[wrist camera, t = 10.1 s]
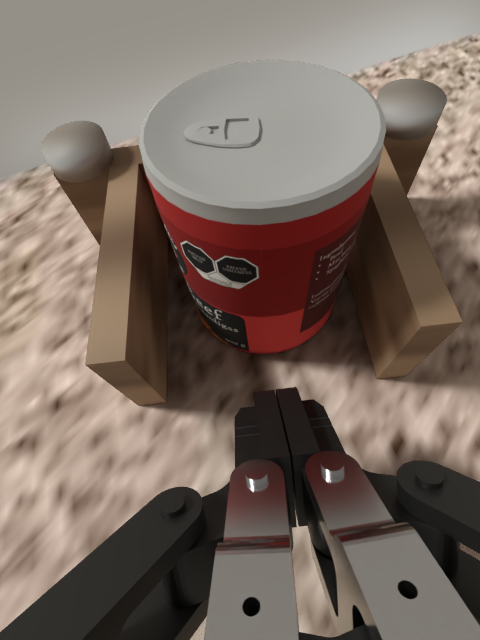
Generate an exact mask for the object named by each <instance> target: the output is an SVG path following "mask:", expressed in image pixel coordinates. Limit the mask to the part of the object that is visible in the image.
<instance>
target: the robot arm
mask: <svg viewBox="0 0 480 640" xmlns="http://www.w3.org/2000/svg"><path fill="white" fill-rule="evenodd" d="M254 397H255V405H256V406H255V407H246V408H240V410H239V411H238V413H237V414H236V416H235V469H234V471H233V472H232V474H231V477H230V482H229V483H228V484H227V485H226V486H225V487H223V488H222V489H220V490H219V491H217V492H214V493H212V494H209V495H207V496H204V497H202V498H201V496H200V494H199V493H198V492H197V491H195V490H194V489H191V488H188V487H175V488H171V489H168V490H166V491H164V492H162V493H160V494H158V495H157V496H156V497H155V498H153V499H152V500H151V501H150V502H149V503H148V504H147V505H145V506H144V507H143V508H142V509H141V510H140V511H139V512H137V513H136V514H135V515H134V516H133V517H132V518H131V519H129V520H128V521H127V522H126V523H125V524H124V525H123V526H121V527H120V528H119V529H118V530H117V531H116V532H115V533H113V534H112V535H111V536H110V537H109V538H108V539H106V540H105V541H104V542H103V543H102V544H101V545H100V546H98V547H97V548H96V549H95V550H94V551H93V552H92V553H90V554H89V555H88V556H87V557H86V558H85V559H84V560H82V561H81V562H80V563H79V564H78V565H77V566H76V567H74V568H73V569H72V570H71V571H70V572H69V573H68V574H66V575H65V576H64V577H63V578H62V579H61V580H60V581H58V582H57V583H56V584H55V585H54V586H53V587H52V588H50V589H49V590H48V591H47V592H46V593H45V594H44V595H42V596H41V597H40V598H39V599H38V600H37V601H36V602H34V603H33V604H32V605H31V606H30V607H29V608H28V609H26V610H25V611H24V612H23V613H22V614H21V615H19V616H18V617H17V618H16V619H15V620H14V621H13V622H11V623H10V624H9V625H8V626H7V627H6V628H5V629H3V630H2V631H1V632H0V640H190V638H191V637H192V636H193V634H194V633H195V631H196V630H197V629H198V627H199V626H200V624H201V623H202V622H203V620H204V619H205V618H206V616H207V620H206V628H205V635H204V640H480V561H479V560H477V559H476V558H474V557H472V556H470V555H469V554H467V553H465V552H464V551H462V550H460V549H459V547H460V543H462V544H464V545H466V546H467V547H469V548H471V549H473V550H474V551H476V552H478V553H480V482H478V481H476V480H473V479H471V478H469V477H467V476H464V475H462V474H460V473H458V472H455V471H453V470H451V469H448V468H446V467H444V466H442V465H439V464H436V463H433V462H428V461H411V462H408V463H405V464H403V465H402V466H401V467H400V468H399V469H398V472H397V476H391V475H383V474H376V473H372V472H368V471H365V470H363V469H361V467H360V465H359V464H358V462H357V461H356V460H355V459H354V458H352V457H351V456H349V455H347V454H346V453H345V451H344V449H343V447H342V445H341V443H340V441H339V438H338V436H337V434H336V432H335V430H334V428H333V426H332V424H331V421H330V419H329V418H328V415H327V413H326V411H325V409H324V407H323V406H322V405H320V404H319V403H318V402H316V401H315V400H305V401H301V398H300V395H299V393H298V390H297V388H296V387H293V388H285V389H276V395H275V391H274V390H269V391H260V392H254ZM295 510H296V515H297V520H298V524H299V526H308V529H309V533H310V538H311V551H312V556H313V559H314V562H315V565H316V568H317V571H318V574H319V578H320V581H321V584H322V587H323V590H324V593H325V597H326V600H327V603H328V606H329V609H330V612H331V615H332V619H333V622H334V625H335V628H336V632H337V637H332V638H328V637H322V636H317V635H312V634H306V633H301V632H299V624H298V613H297V603H296V592H295V581H294V571H293V560H292V549H293V535H292V527H297V526H296V515H295Z"/></svg>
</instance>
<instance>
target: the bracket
mask: <svg viewBox="0 0 480 640" xmlns="http://www.w3.org/2000/svg"><path fill="white" fill-rule="evenodd" d="M377 101H378V103H379V105H380V107H381V109H382V111H383V114H384V116H385V125H386V133H385V138H384V142H383V150H382V154H381V159H380V163H379V166H378V169H377V172H376V175H375V179H374V182H373V186H372V190H371V193H370V196H369V199H368V202H367V205H366V208H365V211H364V214H363V217H362V221H361V224H360V227H359V230H358V233H357V236H356V239H355V242H354V245H353V248H352V251H351V254H350V257H349V260H348V263H347V266H346V269H345V270H346V273H347V277H348V280H349V283H350V287H351V290H352V294H353V297H354V301H355V304H356V308H357V311H358V315H359V318H360V322H361V325H362V329H363V332H364V336H365V339H366V342H367V346H368V349H369V353H370V356H371V360H372V363H373V367H374V370H375V374H376V377H377V379H381V378H390V377H399V376H406V375H407V374H408V373H410V372H411V371H412V370H413V369H414V368H415V367H416V366H417V365H418V364H419V363H420V362H421V361H422V360H423V359H424V358H425V357H426V356H427V355H428V354H429V353H430V352H432V351H433V350H434V349H435V348H436V347H437V346H438V345H439V344H440V343H441V342H442V341H443V340H444V339H445V338H446V337H447V336H448V335H449V334H450V333H451V332H453V331H454V330H455V329H456V328H457V327H458V326H459V325H460V324H461V323H462V322H463V321H462V319H461V317H460V315H459V312H458V310H457V308H456V306H455V303H454V301H453V299H452V297H451V294H450V292H449V290H448V288H447V285H446V283H445V281H444V279H443V276H442V274H441V272H440V270H439V268H438V265H437V263H436V261H435V259H434V256H433V254H432V252H431V250H430V247H429V245H428V243H427V241H426V238H425V236H424V234H423V232H422V229H421V227H420V225H419V223H418V220H417V218H416V216H415V214H414V211H413V209H412V207H411V205H410V202H409V200H408V198H407V194H408V192H409V189H410V187H411V185H412V183H413V180H414V178H415V176H416V174H417V171H418V169H419V167H420V165H421V162H422V160H423V158H424V156H425V153H426V151H427V149H428V147H429V144H430V142H431V140H432V138H433V135H434V133H435V131H436V129H437V123H438V121H439V118H440V116H441V114H442V111H443V109H444V107H445V105H446V101H447V98H446V95H445V93H444V91H443V90H442V89H441V88H439V87H438V86H436V85H435V84H433V83H430V82H428V81H424V80H419V79H400V80H395V81H392V82H390V83H387V84H386V85H384V86H383V87H382V88H381V89H380V91H379V93H378V97H377ZM41 153H42V155H43V156H44V158H45V159H46V161H47V162H48V164H49V165H50V167H51V169H52V170H53V172H54V176H55V177H56V179H57V180H58V182H59V184H60V185H61V187H62V188H63V190H64V191H65V193H66V194H67V196H68V197H69V199H70V200H71V202H72V204H73V205H74V207H75V208H76V210H77V211H78V213H79V214H80V216H81V217H82V219H83V220H84V222H85V224H86V225H87V227H88V228H89V230H90V231H91V233H92V234H93V236H94V237H95V239H96V240H97V242H98V244H99V245H100V251H99V259H98V267H97V275H96V283H95V291H94V299H93V307H92V315H91V323H90V331H89V339H88V347H87V355H86V363H85V365H86V366H87V367H89V368H90V369H91V370H93V371H94V372H95V373H97V374H98V375H99V376H100V377H102V378H103V379H104V380H106V381H107V382H108V383H110V384H111V385H112V386H113V387H115V388H116V389H117V390H119V391H120V392H121V393H123V394H124V395H125V396H126V397H128V398H129V399H130V400H132V401H133V402H134V403H136V404H137V405H147V404H156V403H165V402H166V394H167V271H168V240H170V239H169V236H168V234H167V231H166V228H165V226H164V223H163V221H162V218H161V215H160V213H159V210H158V207H157V205H156V202H155V199H154V195H153V192H152V190H151V187H150V184H149V182H148V179H147V176H146V173H145V169H144V165H143V161H142V156H141V152H140V148H139V145H137V146H130V147H122V148H114V149H111V148H110V145H109V143H108V141H107V139H106V136H105V134H104V132H103V130H102V128H101V127H100V126H99V125H97V124H96V123H93V122H89V121H75V122H70V123H67V124H64V125H61V126H59V127H57V128H56V129H54V130H53V131H51V132H50V133H49V134H48V135H47V136H46V137H45V138H44V140H43V141H42V144H41Z"/></svg>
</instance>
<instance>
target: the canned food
mask: <svg viewBox="0 0 480 640" xmlns="http://www.w3.org/2000/svg"><path fill="white" fill-rule="evenodd" d="M385 133H386V125H385V116H384V114H383V111H382V109H381V107H380V105H379V103H378V101H377V100H376V99H375V98H374V97H373V95H372V94H371V93H370V92H369V91H368V90H367V89H366V88H365V87H363V86H362V85H360V84H359V83H358V82H356V81H355V80H354V79H352V78H350V77H348V76H346V75H344V74H342V73H340V72H337V71H334V70H331V69H328V68H325V67H322V66H319V65H314V64H309V63H304V62H297V61H285V60H257V61H249V62H242V63H235V64H231V65H227V66H222V67H218V68H215V69H212V70H210V71H207V72H204V73H201V74H198V75H196V76H194V77H192V78H190V79H188V80H186V81H184V82H182V83H180V84H179V85H177V86H176V87H174V88H173V89H171V90H170V91H168V92H167V93H166V94H165V95H164V96H162V97H161V98H160V99H159V100H158V101H157V102H156V103H155V104H154V105H153V107H152V108H151V109H150V111H149V112H148V114H147V115H146V117H145V119H144V121H143V124H142V126H141V129H140V135H139V148H140V152H141V156H142V161H143V165H144V169H145V173H146V176H147V179H148V182H149V184H150V187H151V190H152V192H153V195H154V199H155V202H156V205H157V207H158V210H159V213H160V215H161V218H162V221H163V223H164V226H165V228H166V231H167V234H168V236H169V239H170V242H171V244H172V247H173V249H174V252H175V255H176V257H177V260H178V263H179V265H180V268H181V270H182V273H183V276H184V278H185V281H186V284H187V286H188V289H189V291H190V294H191V297H192V299H193V302H194V305H195V307H196V310H197V312H198V315H199V317H200V319H201V320H202V322H203V324H204V325H205V327H206V328H207V329H208V330H209V331H210V332H211V333H212V334H213V335H214V336H216V337H217V338H218V339H220V340H221V341H222V342H224V343H225V344H227V345H229V346H231V347H233V348H235V349H238V350H241V351H245V352H248V353H255V354H272V353H280V352H283V351H287V350H290V349H293V348H295V347H297V346H299V345H301V344H303V343H304V342H305V341H307V340H308V339H309V338H311V337H312V336H313V335H315V334H316V333H317V332H318V331H319V330H320V329H321V328H322V326H323V325H324V324H325V323H326V321H327V319H328V317H329V315H330V314H331V312H332V309H333V306H334V302H335V299H336V296H337V293H338V290H339V287H340V284H341V281H342V278H343V275H344V272H345V269H346V266H347V263H348V260H349V257H350V254H351V251H352V248H353V245H354V242H355V239H356V236H357V233H358V230H359V227H360V224H361V221H362V217H363V214H364V211H365V208H366V205H367V202H368V199H369V196H370V193H371V190H372V186H373V182H374V179H375V175H376V172H377V169H378V166H379V163H380V159H381V154H382V150H383V142H384V138H385Z"/></svg>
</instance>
